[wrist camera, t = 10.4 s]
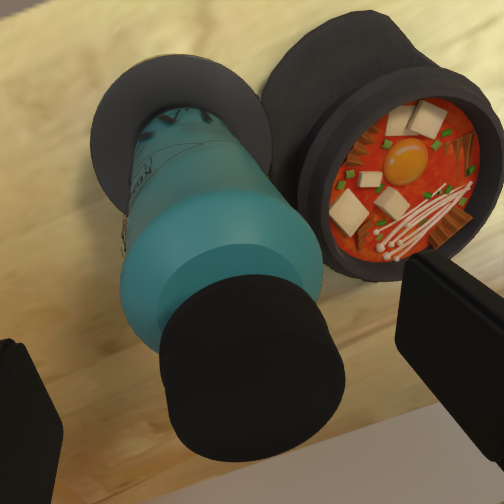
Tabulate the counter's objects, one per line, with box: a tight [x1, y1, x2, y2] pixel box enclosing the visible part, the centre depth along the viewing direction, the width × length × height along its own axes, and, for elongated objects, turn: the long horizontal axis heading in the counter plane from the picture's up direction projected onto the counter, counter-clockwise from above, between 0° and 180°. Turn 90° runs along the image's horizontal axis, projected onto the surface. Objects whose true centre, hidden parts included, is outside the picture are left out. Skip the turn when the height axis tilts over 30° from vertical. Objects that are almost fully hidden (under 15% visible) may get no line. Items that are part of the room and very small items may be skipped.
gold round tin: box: [90, 54, 273, 217], centre depth 28 cm, size 11×11×7 cm
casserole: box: [261, 10, 504, 283], centre depth 33 cm, size 25×19×8 cm
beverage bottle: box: [120, 106, 345, 462], centre depth 17 cm, size 6×7×20 cm
